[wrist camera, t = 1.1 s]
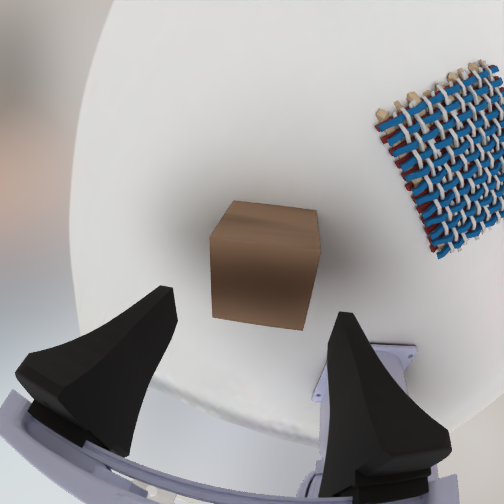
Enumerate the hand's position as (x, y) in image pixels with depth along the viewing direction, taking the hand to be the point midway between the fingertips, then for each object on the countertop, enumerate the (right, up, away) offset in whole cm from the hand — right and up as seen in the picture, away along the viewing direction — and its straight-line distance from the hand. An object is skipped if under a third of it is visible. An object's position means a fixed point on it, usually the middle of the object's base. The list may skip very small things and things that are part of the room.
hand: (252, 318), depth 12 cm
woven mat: (+14, +9, +1) cm, 16 cm away
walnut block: (+1, +4, +6) cm, 7 cm away
